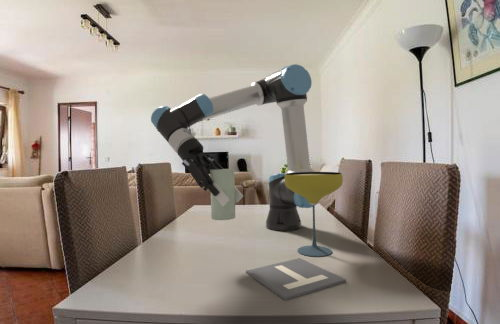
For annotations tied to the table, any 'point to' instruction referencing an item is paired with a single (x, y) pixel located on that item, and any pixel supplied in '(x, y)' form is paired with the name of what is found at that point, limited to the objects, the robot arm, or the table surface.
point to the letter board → (294, 278)
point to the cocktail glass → (314, 198)
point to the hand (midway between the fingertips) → (233, 200)
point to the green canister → (227, 184)
